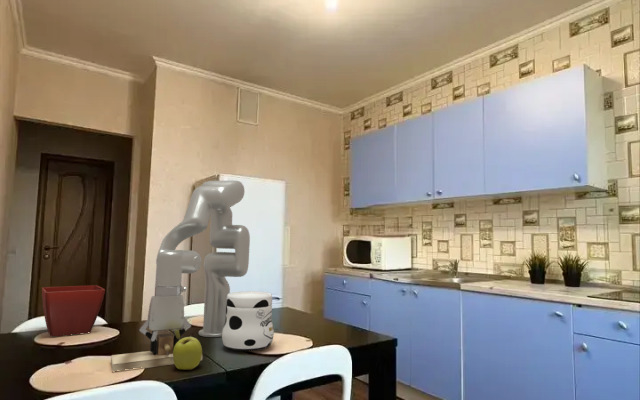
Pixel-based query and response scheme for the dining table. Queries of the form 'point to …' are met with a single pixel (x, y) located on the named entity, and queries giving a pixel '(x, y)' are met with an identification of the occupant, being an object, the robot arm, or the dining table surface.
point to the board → (140, 360)
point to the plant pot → (71, 308)
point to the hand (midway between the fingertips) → (164, 352)
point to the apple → (187, 353)
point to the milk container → (248, 321)
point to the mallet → (164, 344)
